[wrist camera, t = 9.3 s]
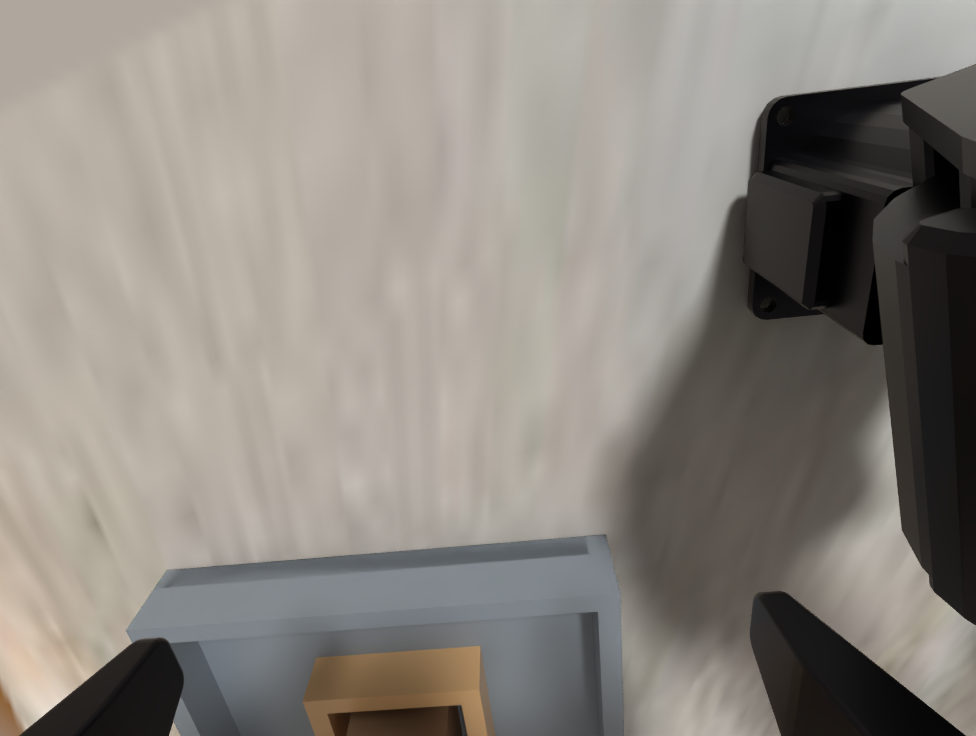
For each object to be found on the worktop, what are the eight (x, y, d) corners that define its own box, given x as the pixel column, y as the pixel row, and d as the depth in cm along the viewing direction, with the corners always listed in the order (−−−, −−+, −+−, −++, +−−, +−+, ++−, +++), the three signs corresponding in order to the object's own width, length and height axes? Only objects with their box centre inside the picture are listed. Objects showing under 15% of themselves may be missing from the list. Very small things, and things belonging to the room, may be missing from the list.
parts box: (605, 534, 24) (620, 593, 21) (615, 779, 30) (626, 847, 28) (166, 570, 25) (125, 630, 22) (270, 799, 31) (249, 866, 29)
